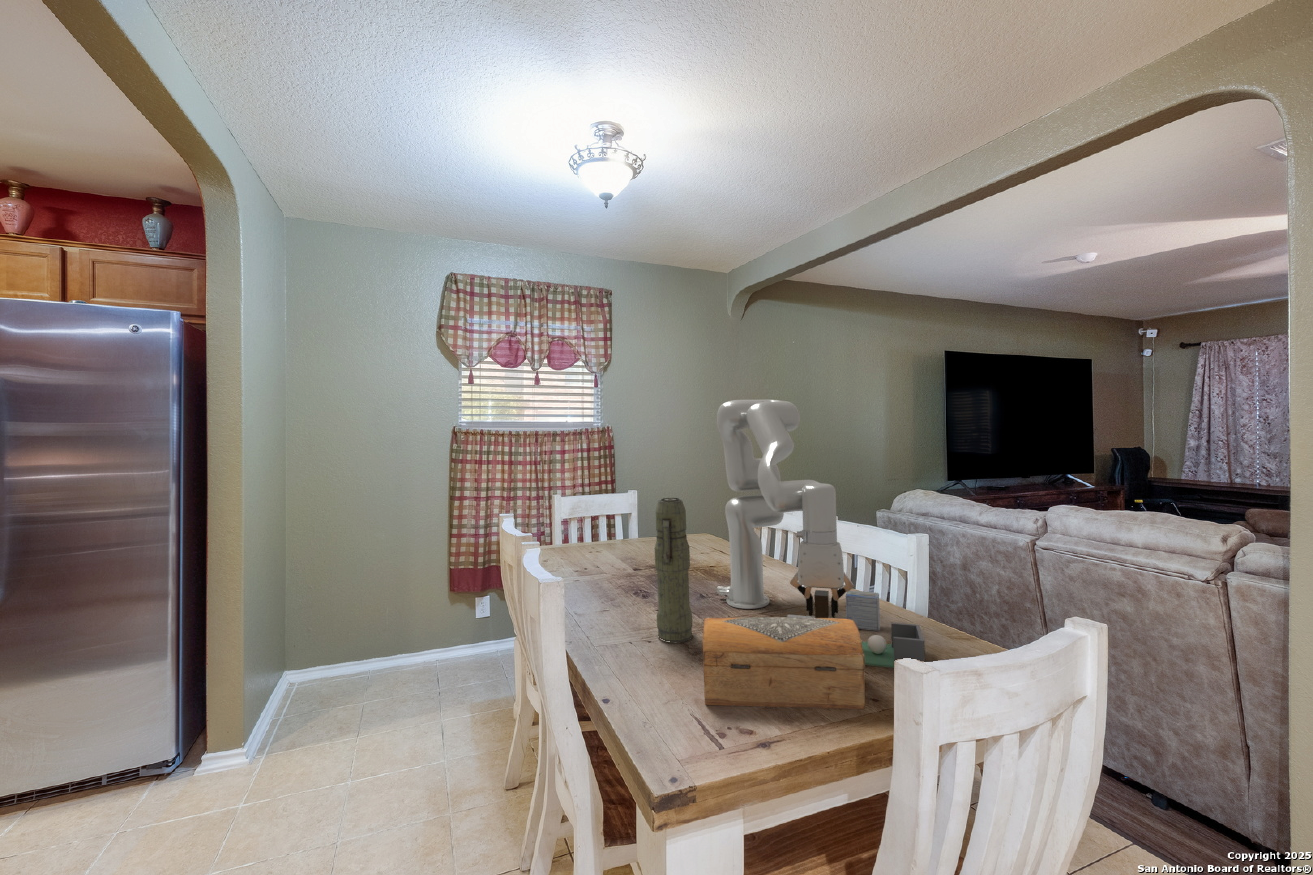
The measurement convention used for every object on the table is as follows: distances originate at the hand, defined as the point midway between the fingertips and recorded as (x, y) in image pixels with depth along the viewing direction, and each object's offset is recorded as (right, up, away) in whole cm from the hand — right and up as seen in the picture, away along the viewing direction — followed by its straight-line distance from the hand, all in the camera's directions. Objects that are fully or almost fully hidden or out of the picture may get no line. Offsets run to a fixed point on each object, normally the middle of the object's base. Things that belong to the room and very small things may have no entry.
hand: (822, 614), depth 129 cm
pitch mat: (+13, -8, -4) cm, 15 cm away
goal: (+17, -8, -6) cm, 19 cm away
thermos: (-34, -10, +12) cm, 37 cm away
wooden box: (-14, -10, -17) cm, 24 cm away
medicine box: (+15, -8, +13) cm, 21 cm away
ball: (+11, -6, -4) cm, 13 cm away
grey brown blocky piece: (0, -7, 0) cm, 7 cm away
